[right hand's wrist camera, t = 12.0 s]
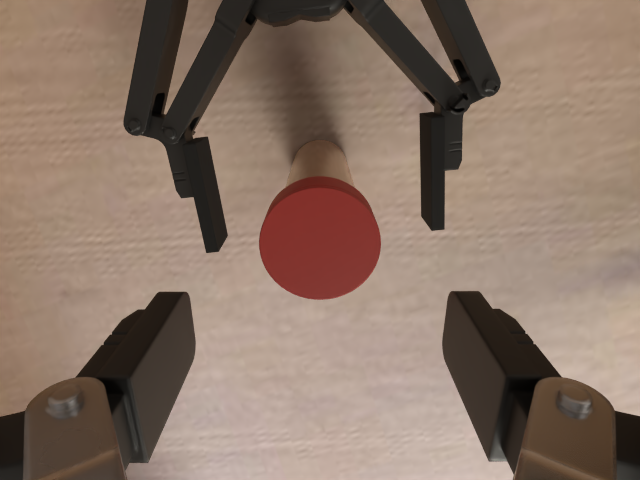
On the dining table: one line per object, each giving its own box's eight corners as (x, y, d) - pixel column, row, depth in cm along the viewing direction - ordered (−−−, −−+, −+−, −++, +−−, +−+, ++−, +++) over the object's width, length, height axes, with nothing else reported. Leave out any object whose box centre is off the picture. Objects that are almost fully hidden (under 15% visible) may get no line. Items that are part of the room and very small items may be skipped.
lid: (327, 152, 17) (328, 160, 15) (396, 236, 19) (405, 253, 17) (241, 223, 18) (233, 239, 17) (313, 298, 20) (313, 320, 18)
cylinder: (323, 128, 30) (326, 174, 16) (357, 170, 31) (388, 248, 17) (282, 163, 31) (250, 237, 17) (316, 203, 32) (314, 302, 18)
